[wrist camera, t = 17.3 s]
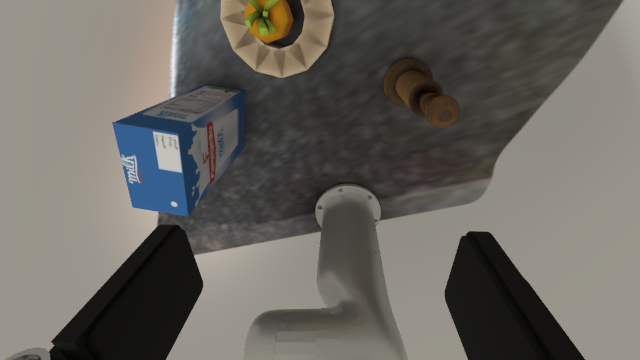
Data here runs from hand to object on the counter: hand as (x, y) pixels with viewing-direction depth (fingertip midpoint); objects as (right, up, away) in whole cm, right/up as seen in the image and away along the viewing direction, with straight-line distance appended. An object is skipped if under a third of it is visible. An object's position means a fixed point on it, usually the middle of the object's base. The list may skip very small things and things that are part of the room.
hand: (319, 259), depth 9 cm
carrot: (-5, +25, +28) cm, 38 cm away
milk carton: (-16, +13, +36) cm, 41 cm away
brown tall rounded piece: (+13, +18, +31) cm, 38 cm away
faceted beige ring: (-5, +25, +28) cm, 38 cm away
